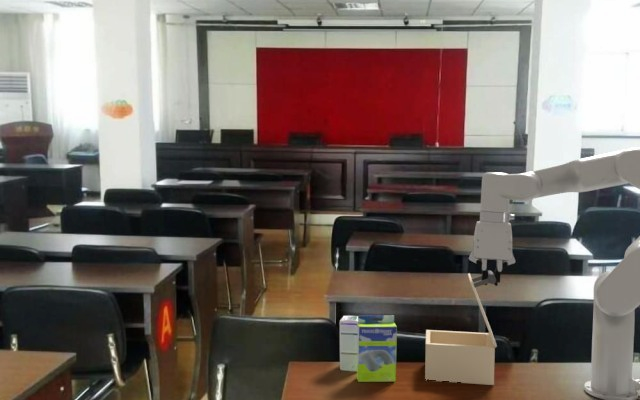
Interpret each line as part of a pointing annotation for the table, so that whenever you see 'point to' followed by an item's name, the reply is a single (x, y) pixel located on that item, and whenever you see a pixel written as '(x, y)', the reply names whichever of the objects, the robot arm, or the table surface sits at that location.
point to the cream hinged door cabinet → (459, 357)
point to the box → (376, 349)
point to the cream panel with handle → (491, 280)
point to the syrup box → (348, 343)
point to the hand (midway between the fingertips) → (490, 284)
